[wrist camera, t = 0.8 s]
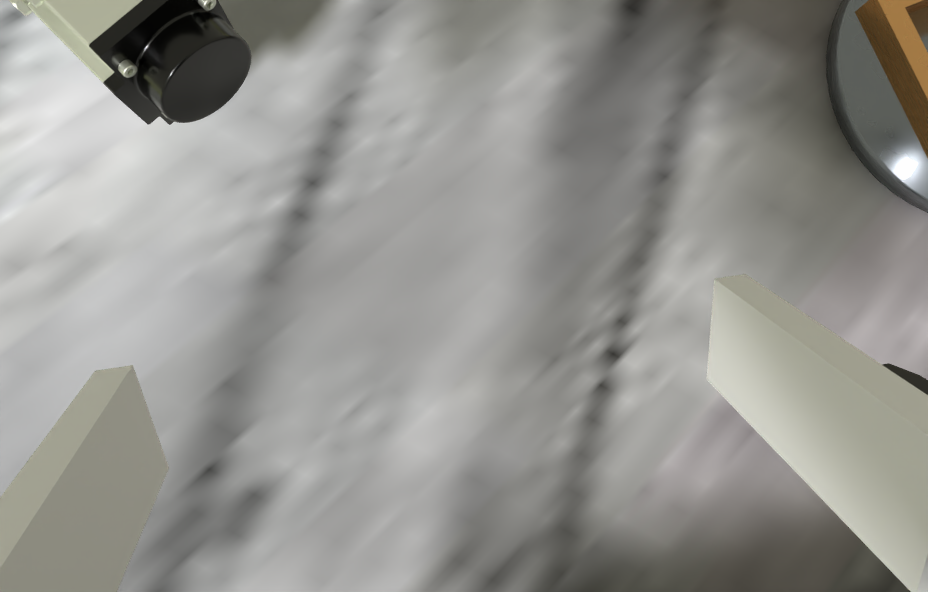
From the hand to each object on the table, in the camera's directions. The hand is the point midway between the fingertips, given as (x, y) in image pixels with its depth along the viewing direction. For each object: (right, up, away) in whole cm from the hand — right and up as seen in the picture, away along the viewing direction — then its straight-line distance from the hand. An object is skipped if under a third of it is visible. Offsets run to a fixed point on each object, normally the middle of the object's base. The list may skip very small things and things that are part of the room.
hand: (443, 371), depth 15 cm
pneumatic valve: (-15, +13, +19) cm, 27 cm away
